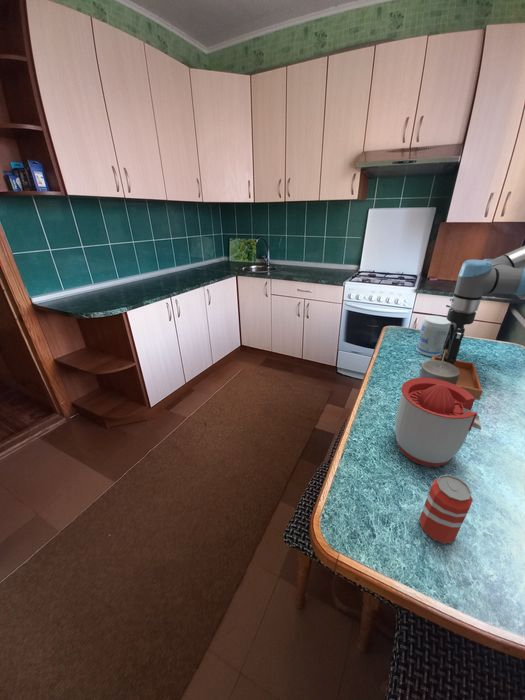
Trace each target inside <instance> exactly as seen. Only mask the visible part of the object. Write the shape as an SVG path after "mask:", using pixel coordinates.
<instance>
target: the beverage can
mask: <svg viewBox="0 0 525 700" xmlns="http://www.w3.org/2000/svg"><path fill="white" fill-rule="evenodd" d="M472 493H473V492H472V490H471V488H470V487H469V485H468V484H467V482H464V481H463V480H462V479H461V478H459V477H457V476H454V475H451V474H443V475H439V477H438V478H435V479H434V480H433V482H432V484H431V486H430V488H429V491H428V494H427V497H426V498H425V502H424V505H423V508H422V511H421V512H420V516H419V519H418V520H419V523H420V527H421V530H422V531H424V533H426V535H428V537H430V539H432V540H434V541H437V542H439V543H441V544H449V543H454V542H455V540H456V538H457V535H458V534H459V532H460V530H461V527H462V525H463V524H464V522H465V519H466V517H467V515H468V513H469V511H470V508H471V506H472V503H473V497H472Z"/></svg>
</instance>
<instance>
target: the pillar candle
mask: <svg viewBox="0 0 525 700" xmlns="http://www.w3.org/2000/svg"><path fill="white" fill-rule="evenodd" d="M459 374H460V371H459V369H458V368H457V367H456V366H454V365H452V364H450V363H447V362H444V361H439V360H432V359H428V360H424V361H423V362H422V363H421V368H420V372H419V376H418V378H433V379H439V380H443V381H446V382H449V383H452V384H454V385H456V383H457V380H458V377H459Z"/></svg>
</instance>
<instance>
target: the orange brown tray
mask: <svg viewBox="0 0 525 700" xmlns="http://www.w3.org/2000/svg"><path fill="white" fill-rule="evenodd" d="M431 360H439V361H440V360H441V356H431ZM453 365H454V366H456V367H457V368H458V369H459V371H460V374H459V377H458V380H457V383H456V385H457V386H459V387H461V388H463V389H464V390H466V391H467V392H469V393H470V394H471V395H472V396H473V397H474V398H475V400H481V397H482V395H483V388H482V383H481V380H480V377H479V374H478V371H477V367H476V364H475V362H469V361H464V360H458V359H456V362H454V364H453Z"/></svg>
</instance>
